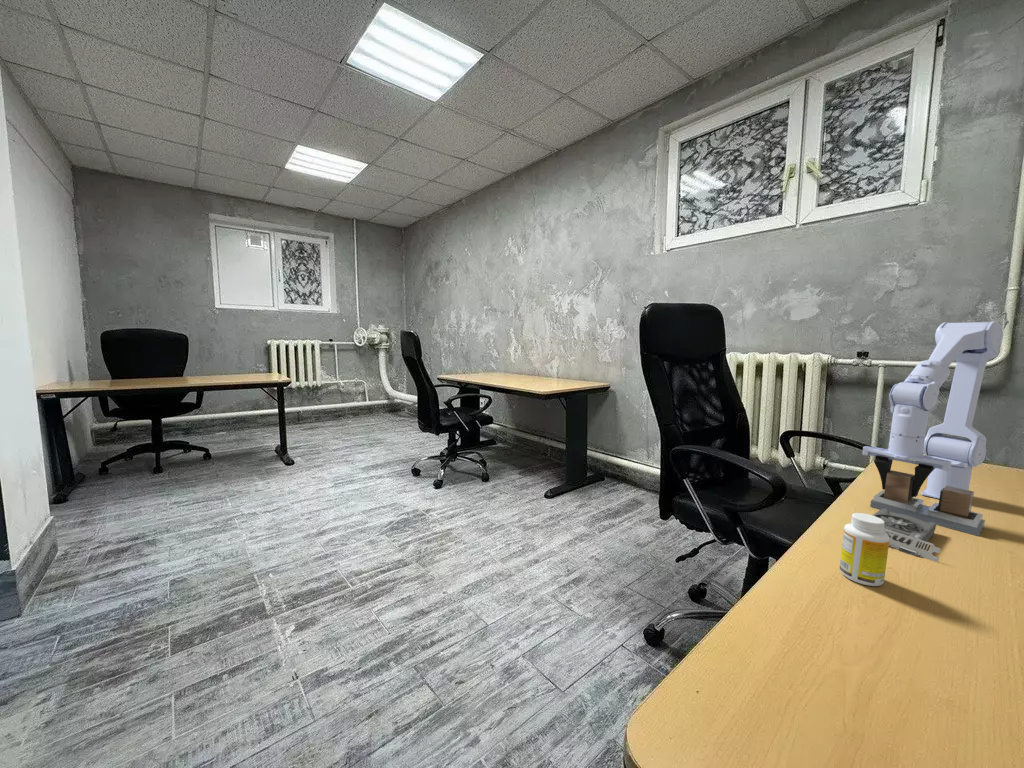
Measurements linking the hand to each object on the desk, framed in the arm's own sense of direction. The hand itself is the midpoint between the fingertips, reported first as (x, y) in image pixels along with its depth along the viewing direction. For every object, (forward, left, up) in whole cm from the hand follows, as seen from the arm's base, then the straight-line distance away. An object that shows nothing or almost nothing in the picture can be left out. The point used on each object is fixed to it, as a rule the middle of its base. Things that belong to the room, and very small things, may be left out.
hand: (899, 492), depth 94 cm
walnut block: (0, 0, -2) cm, 2 cm away
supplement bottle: (+44, +4, -4) cm, 44 cm away
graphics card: (+18, +4, -5) cm, 19 cm away
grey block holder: (0, +4, -4) cm, 6 cm away
